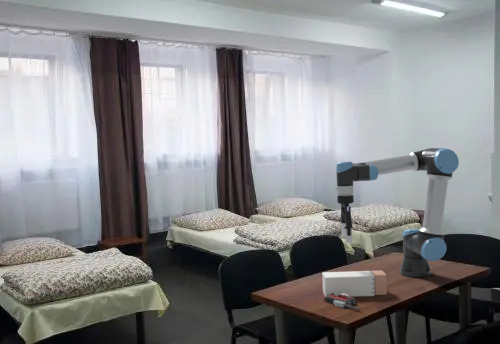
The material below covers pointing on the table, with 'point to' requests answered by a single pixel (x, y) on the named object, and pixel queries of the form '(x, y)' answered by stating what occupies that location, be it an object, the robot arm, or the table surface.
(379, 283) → the peach rectangular block
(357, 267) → the table surface
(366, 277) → the block
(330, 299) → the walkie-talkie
